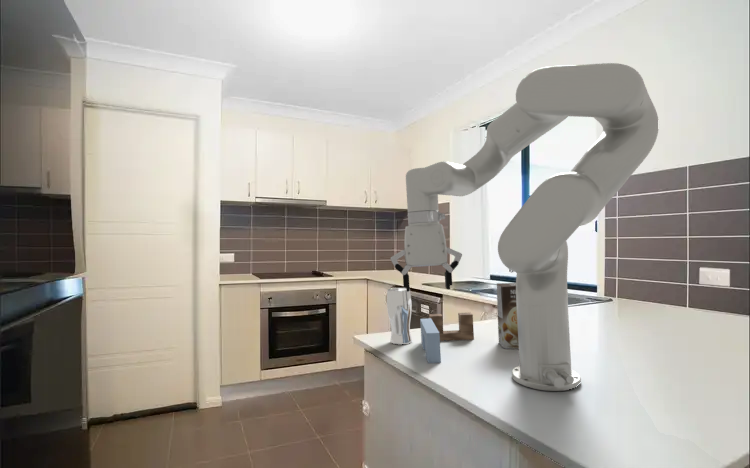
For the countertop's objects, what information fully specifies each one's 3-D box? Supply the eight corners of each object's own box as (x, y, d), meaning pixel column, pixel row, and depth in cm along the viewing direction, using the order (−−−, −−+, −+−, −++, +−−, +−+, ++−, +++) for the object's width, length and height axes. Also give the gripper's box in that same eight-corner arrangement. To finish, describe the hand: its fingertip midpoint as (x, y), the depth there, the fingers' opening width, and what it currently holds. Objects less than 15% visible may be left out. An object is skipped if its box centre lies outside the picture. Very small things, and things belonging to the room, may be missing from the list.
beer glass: (414, 344, 107) (411, 290, 107) (389, 346, 107) (386, 291, 107) (412, 338, 114) (409, 287, 114) (388, 339, 114) (386, 288, 114)
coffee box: (503, 349, 99) (500, 286, 99) (498, 342, 105) (495, 283, 106) (541, 348, 98) (537, 285, 98) (533, 341, 104) (530, 281, 105)
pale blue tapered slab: (440, 362, 91) (439, 332, 91) (428, 363, 91) (426, 333, 91) (432, 343, 107) (431, 318, 107) (421, 344, 107) (420, 318, 107)
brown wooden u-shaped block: (471, 336, 112) (470, 312, 113) (474, 339, 109) (472, 314, 110) (430, 338, 113) (428, 314, 113) (431, 341, 110) (430, 316, 110)
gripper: (457, 218, 98) (461, 286, 98) (388, 222, 99) (392, 289, 99) (462, 216, 90) (466, 290, 90) (387, 221, 91) (392, 293, 91)
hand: (427, 289), depth 94 cm, fingers open, 9 cm apart
